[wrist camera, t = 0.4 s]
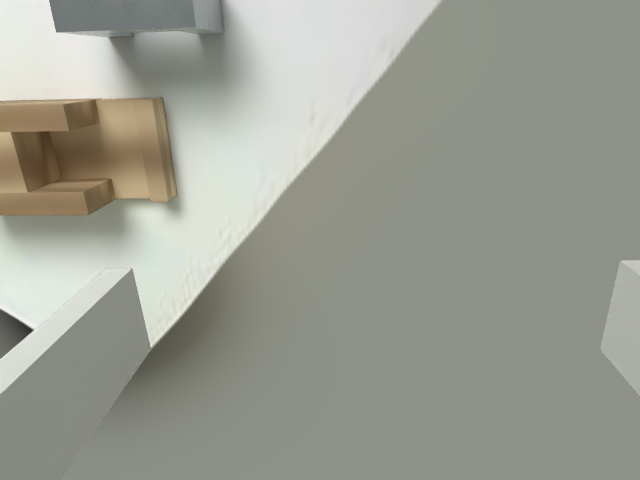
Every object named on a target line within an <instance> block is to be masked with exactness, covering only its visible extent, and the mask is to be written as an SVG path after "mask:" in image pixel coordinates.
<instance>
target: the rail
mask: <svg viewBox="0 0 640 480" xmlns="http://www.w3.org/2000/svg"><path fill="white" fill-rule="evenodd" d="M176 195H177V190H176V184H175V177H174V171H173V164H172V158H171V151H170V144H169V138H168V131H167V125H166V118H165V112H164V105H163V98H131V99H63V100H21V101H0V215H89V214H91V213H93V212H95V211H96V210H98V209H100V208H101V207H103V206H105V205H106V204H108V203H110V202H112V201H113V200H115V199H117V198H150V201H151V202H168V201H170V200H171V199H172V198H174V197H175V196H176Z"/></svg>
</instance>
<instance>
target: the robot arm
mask: <svg viewBox="0 0 640 480" xmlns="http://www.w3.org/2000/svg"><path fill="white" fill-rule="evenodd" d="M150 350H151V347H150V343H149V339H148V334H147V330H146V326H145V321H144V317H143V313H142V308H141V304H140V300H139V295H138V291H137V287H136V282H135V278H134V274H133V269H132V268H106V269H105V270H104V271H103V272H102V273H100V274H99V275H98V276H97V277H96V278H95V279H93V280H92V281H91V282H90V283H89V284H88V285H86V286H85V287H84V288H83V289H82V290H81V291H79V292H78V293H77V294H76V295H75V296H74V297H72V298H71V299H70V300H69V301H68V302H67V303H65V304H64V305H63V306H62V307H61V308H60V309H58V310H57V311H56V312H55V313H54V314H53V315H51V316H50V317H49V318H48V319H47V320H46V321H44V322H43V323H42V324H41V325H40V326H39V327H37V328H36V329H35V330H34V331H33V332H32V333H30V334H29V335H28V336H27V337H26V338H25V339H24V340H22V341H21V342H20V343H19V344H18V345H16V346H15V347H14V348H13V349H12V350H11V351H9V353H7V354H6V355H5V356H4V357H3V358H1V359H0V480H61V479H62V477H63V476H64V474H65V473H66V472H67V470H68V469H69V467H70V466H71V464H72V463H73V461H74V460H75V458H76V457H77V455H78V454H79V453H80V451H81V450H82V448H83V447H84V446H85V444H86V443H87V441H88V440H89V438H90V437H91V435H92V434H93V432H94V431H95V430H96V428H97V427H98V425H99V424H100V422H101V421H102V419H103V418H104V417H105V415H106V414H107V412H108V411H109V409H110V408H111V406H112V405H113V403H114V402H115V401H116V399H117V398H118V396H119V395H120V393H121V392H122V390H123V389H124V388H125V386H126V385H127V383H128V382H129V380H130V379H131V377H132V376H133V375H134V373H135V372H136V370H137V369H138V367H139V366H140V364H141V363H142V362H143V360H144V359H145V357H146V356H147V354H148V353H149V351H150ZM600 350H601V351H602V352H603V353H604V354H605V356H606V357H607V358H608V359H609V360H610V362H611V363H612V364H613V365H614V366H615V367H616V369H617V370H618V371H619V372H620V373H621V374H622V376H623V377H624V378H625V379H626V380H627V382H628V383H629V384H630V385H631V386H632V387H633V389H634V390H635V391H636V392H637V393H638V395H639V396H640V260H623V261H620V263H619V267H618V272H617V276H616V281H615V285H614V289H613V294H612V299H611V303H610V307H609V312H608V316H607V321H606V326H605V330H604V334H603V338H602V343H601V348H600Z"/></svg>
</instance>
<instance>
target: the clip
mask: <svg viewBox="0 0 640 480" xmlns="http://www.w3.org/2000/svg"><path fill="white" fill-rule="evenodd" d="M49 2H50V6H51V11H52V15H53V20H54V24H55V29H56V32H59V33H69V34H80V35H90V36H101V37H129V36H134V34H133V32H162V31H183V32H189V33H194V34H216V33H224V26H223V16H222V6H221V0H49Z"/></svg>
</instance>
